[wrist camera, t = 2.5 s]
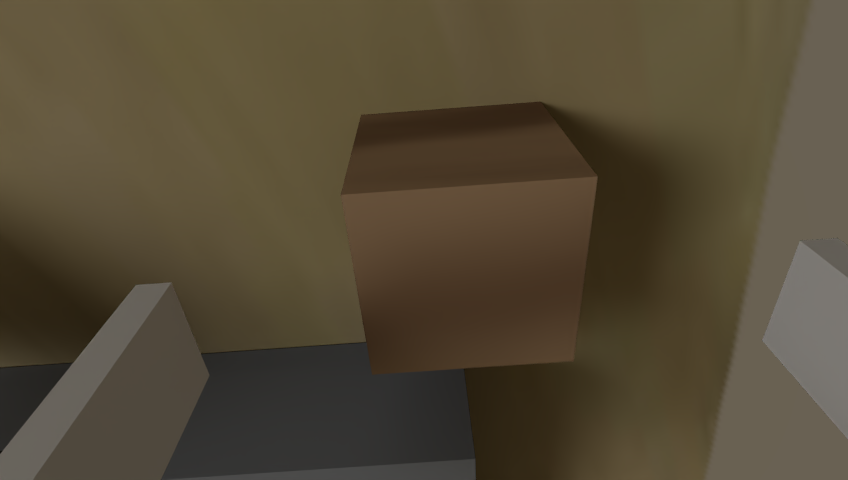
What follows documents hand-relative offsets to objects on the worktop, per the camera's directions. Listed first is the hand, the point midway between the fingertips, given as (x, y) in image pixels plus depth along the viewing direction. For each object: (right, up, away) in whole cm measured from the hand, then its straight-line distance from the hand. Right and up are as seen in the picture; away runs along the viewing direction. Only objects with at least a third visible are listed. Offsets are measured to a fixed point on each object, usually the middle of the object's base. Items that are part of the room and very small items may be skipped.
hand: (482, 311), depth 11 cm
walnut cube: (0, +3, +4) cm, 5 cm away
